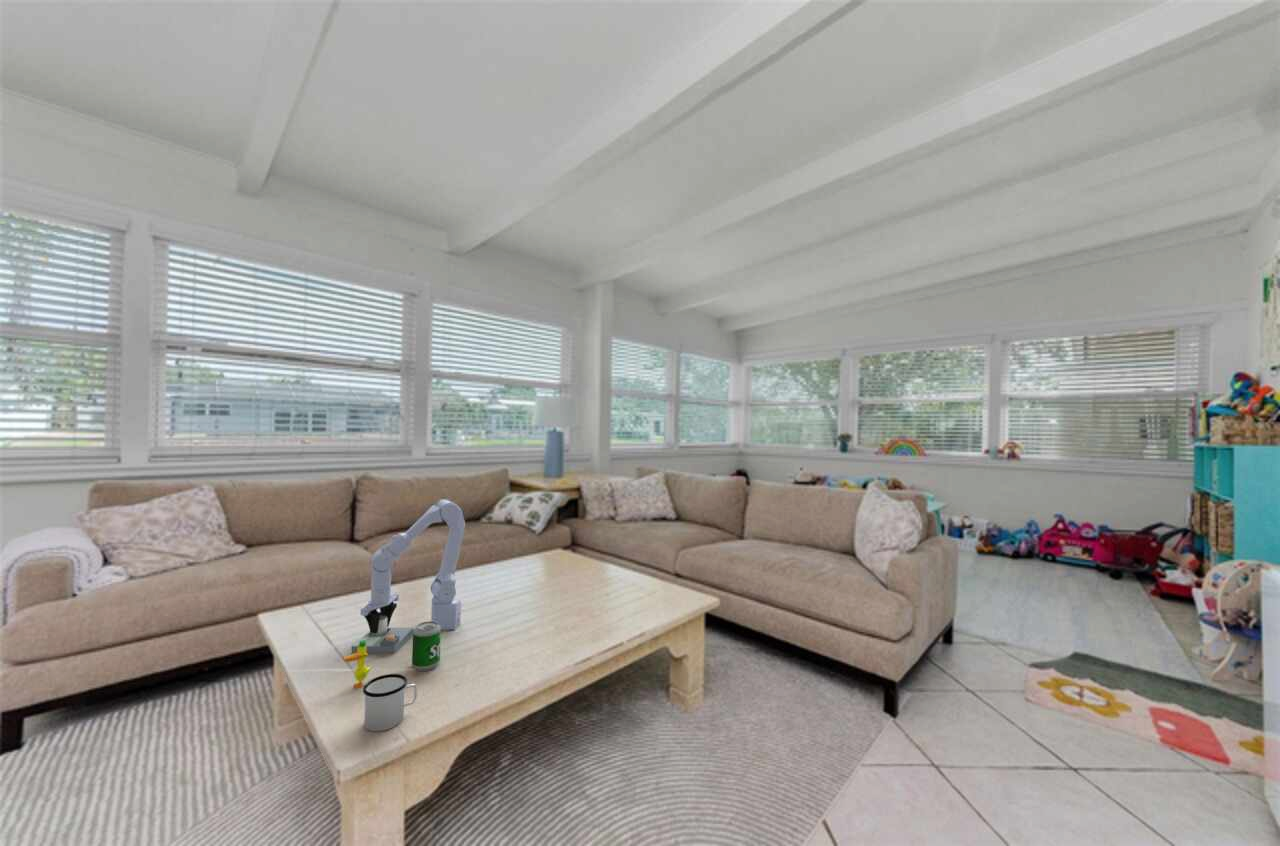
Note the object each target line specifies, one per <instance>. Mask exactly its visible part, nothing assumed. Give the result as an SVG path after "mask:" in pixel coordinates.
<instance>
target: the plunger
mask: <svg viewBox="0 0 1280 846" xmlns="http://www.w3.org/2000/svg"><path fill="white" fill-rule="evenodd" d="M394 639H395V635H388V636H386V637H385V641H393V640H394Z"/></svg>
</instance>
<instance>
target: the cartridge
mask: <svg viewBox="0 0 1280 846" xmlns="http://www.w3.org/2000/svg"><path fill="white" fill-rule="evenodd" d="M387 618H388V617H387V616H385V615H381V616H380V619H379V625H378V632H377V633H372V635H385V634H386V633H387V628H388V627H387Z"/></svg>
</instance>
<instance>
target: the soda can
mask: <svg viewBox="0 0 1280 846" xmlns="http://www.w3.org/2000/svg"><path fill="white" fill-rule="evenodd" d="M441 631H442V629H441V627H440V625H438V623H437V622H432V621H431V620H430V621H424V622H420V623H418V624H417V625H416V626H415V627H413V634H412V648H411V649H412V655H411V657H412V658H411V666H412V667H413V668H414V669H415V671H418V672H427V671H430V670H432V669H434V668H436V667H437V665H438V664H439V663H440V661H441V639H442V638H441V635H442V634H441V633H442V632H441Z"/></svg>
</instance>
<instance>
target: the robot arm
mask: <svg viewBox="0 0 1280 846" xmlns="http://www.w3.org/2000/svg"><path fill="white" fill-rule="evenodd" d="M443 521H444V523H446V524H447V526H448V527H449V529H448V533H447V538H446V542H445V547H444V550H443V555H442V557H441V558H442V559H441V562H440V563H441V564H440V567H439V571H438V572H437V573H436V575H435V577H434V580H433V581H432V583H431V585H430V592H431V594H432V595H433V596H432V599H431V614H430V615H431V616H430V621H432V622H437V623H438V625H440V627H441V630H449V631H451V630H455V629H457V627H458V626H459V624H460V623H461V622H462V620H461V615H462V614H461V611H462V610H461V609H462V604H461V600H457V599H455V596H456V594H457V589H456V582H457V581H456V576H455V575H456V570H457V565H458V560H459V557H460V556H459V555H460V553H461V547H462V544H463V538H464V534H465V530H466V521H465V518H464V514H463V510H462V509H461V507H460V506H459V505H458V504H456V503H455V502H452V501H450V500H448V499H445V498H442V499H440V500H438V501H437V502H435V504H433V505H431V506H430V507H429V509H428V510H427V511H426V512H425V513H424V514H423V515H421V517H419V518H418V520H416V522H415V523H413V524H412V525H411V526H410V527H409V528H408V529H407V530H406V532H399V533H398V534H397V535H396V534H394V535H392V537H391V538H392V539H391V540H390V541H389V542H387V543H386V545H384V546H381V547H380V548H379V549H380V550H377V551H376V552H375V553H373V554H372V555H371V558H370V559H369V561H370V564H371V566H372V568H371V569H372V570H371V573H372V574H371V581H370V582H371V584H370V585H371V586H370V589H371V590H370V599H369V600H368V604H366V605H365V606H364V607H362V608H360V616H362V617H364V619H365V620H366V622H367V625H368V629H369V631H370V632H371V633H377V632H378V625H379V619H380V616H381V615H385V616H387V617H388V618H387V628H389V627H390V622H391V619H392V616H393V614H394V612H395V610H396V609H397V607H398V606H397V605H398V604H397V603H396V602H398V601H399V600H400V599H399V597H400V596H399V594H397V593H393V594H391V591H392V589H391V587H392V568H393V565H394V564H395V560H397V559H398V558H399V557H401V556H402V555H403V553H405V552H406V551H407V550H408V549H409V548H410V547H411V546H412V545H413V540H414V539H415V538H416V537H417V536H418V535H420V534H421V533H422V532H423V531H424V530H426V529H427V528H428V527H429V526H430V525H432V524H434V523H435V524H436V523H442V522H443ZM378 610H379V611H380V612H379V611H378Z"/></svg>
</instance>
